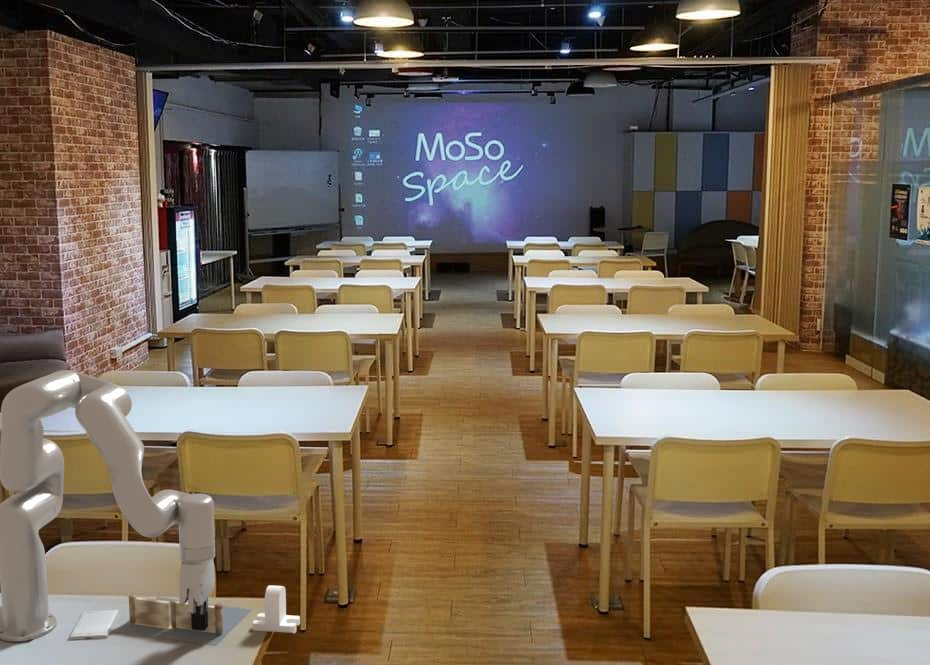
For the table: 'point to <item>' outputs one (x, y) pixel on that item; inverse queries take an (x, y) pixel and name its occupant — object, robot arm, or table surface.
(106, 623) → the hard drive
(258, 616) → the cable organizer
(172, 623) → the fence swing panel
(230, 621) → the card
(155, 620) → the fence fixed section
